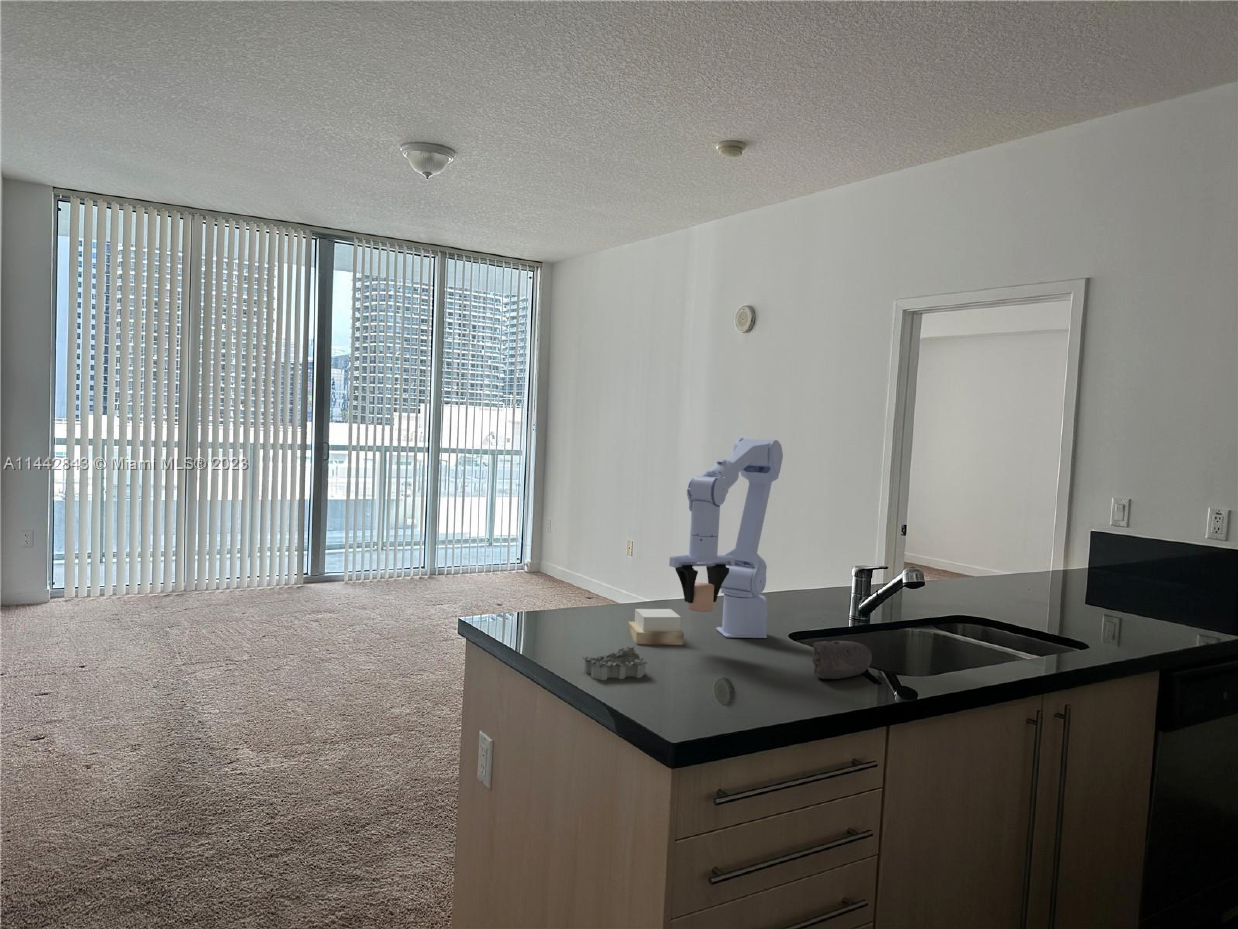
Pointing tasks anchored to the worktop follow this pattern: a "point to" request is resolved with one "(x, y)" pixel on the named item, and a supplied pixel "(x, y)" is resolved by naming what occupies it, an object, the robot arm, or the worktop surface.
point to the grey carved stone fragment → (616, 665)
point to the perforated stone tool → (840, 659)
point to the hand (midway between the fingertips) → (700, 601)
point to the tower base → (654, 636)
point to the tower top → (657, 620)
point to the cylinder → (702, 597)
